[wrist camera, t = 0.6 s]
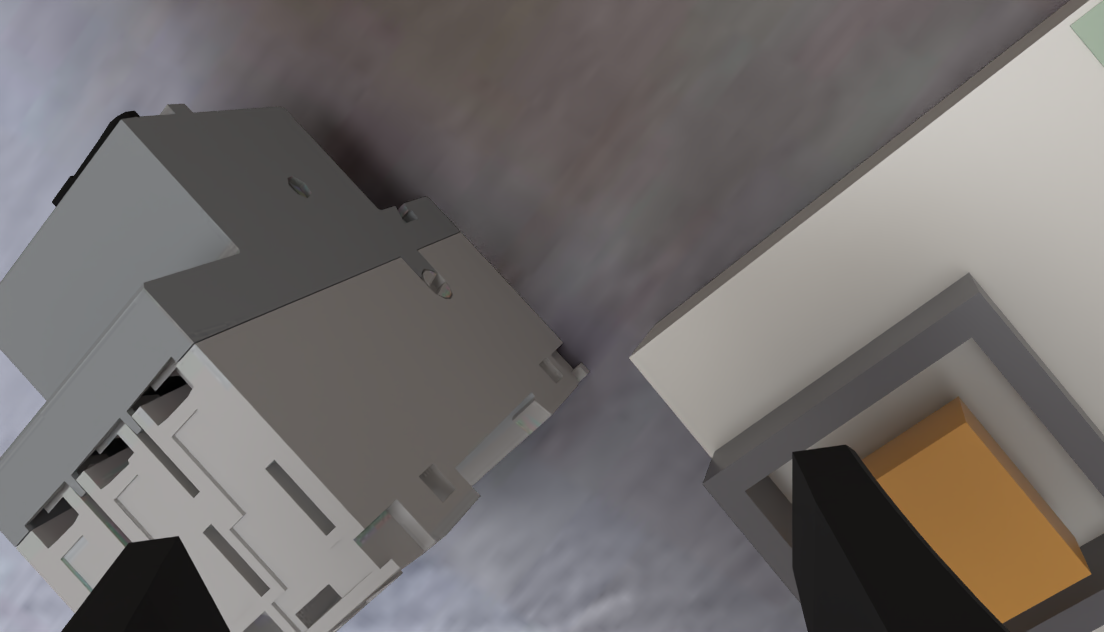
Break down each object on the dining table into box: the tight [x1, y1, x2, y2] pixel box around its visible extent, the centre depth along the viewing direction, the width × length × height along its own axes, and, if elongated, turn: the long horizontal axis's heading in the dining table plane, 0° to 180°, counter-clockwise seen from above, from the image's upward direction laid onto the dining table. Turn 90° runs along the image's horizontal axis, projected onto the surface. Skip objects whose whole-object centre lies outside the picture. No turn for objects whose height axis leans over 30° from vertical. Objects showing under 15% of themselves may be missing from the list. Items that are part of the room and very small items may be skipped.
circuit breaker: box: [0, 104, 590, 632], centre depth 29 cm, size 8×14×15 cm, turn 45°
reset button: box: [862, 396, 1091, 623], centre depth 26 cm, size 5×5×2 cm
